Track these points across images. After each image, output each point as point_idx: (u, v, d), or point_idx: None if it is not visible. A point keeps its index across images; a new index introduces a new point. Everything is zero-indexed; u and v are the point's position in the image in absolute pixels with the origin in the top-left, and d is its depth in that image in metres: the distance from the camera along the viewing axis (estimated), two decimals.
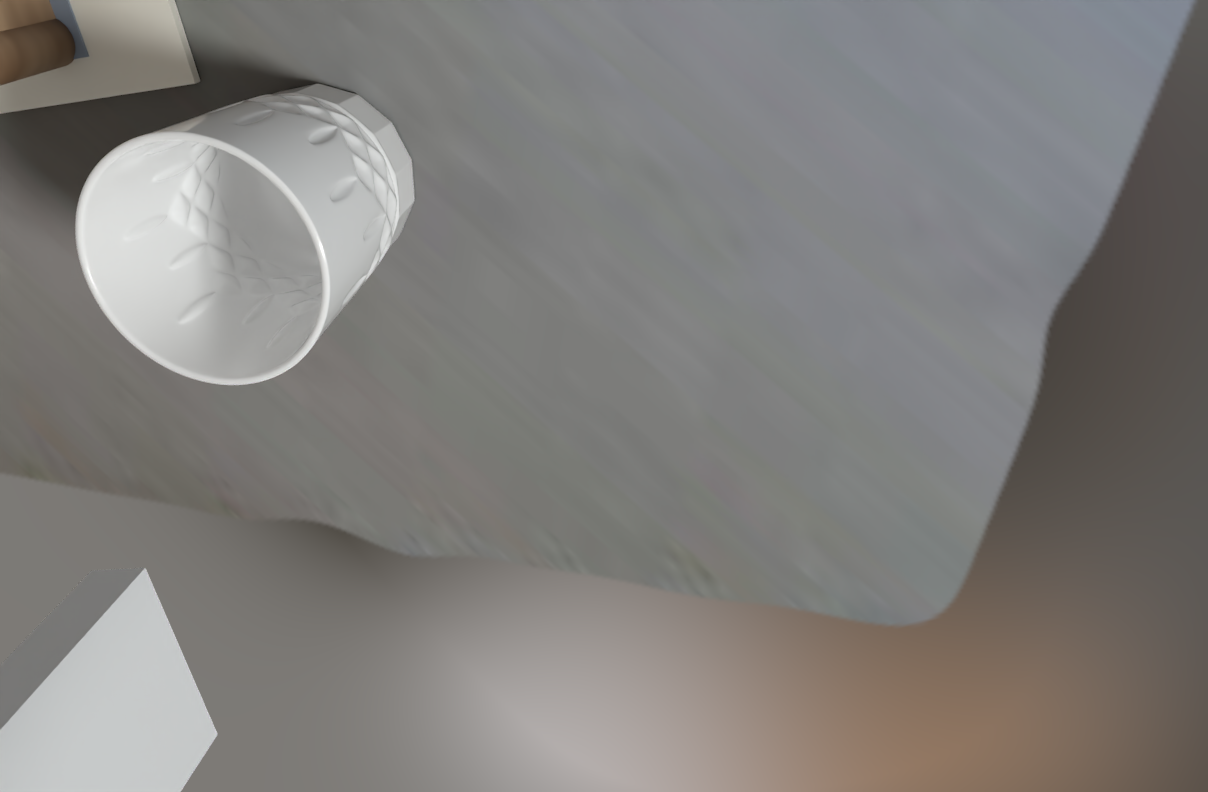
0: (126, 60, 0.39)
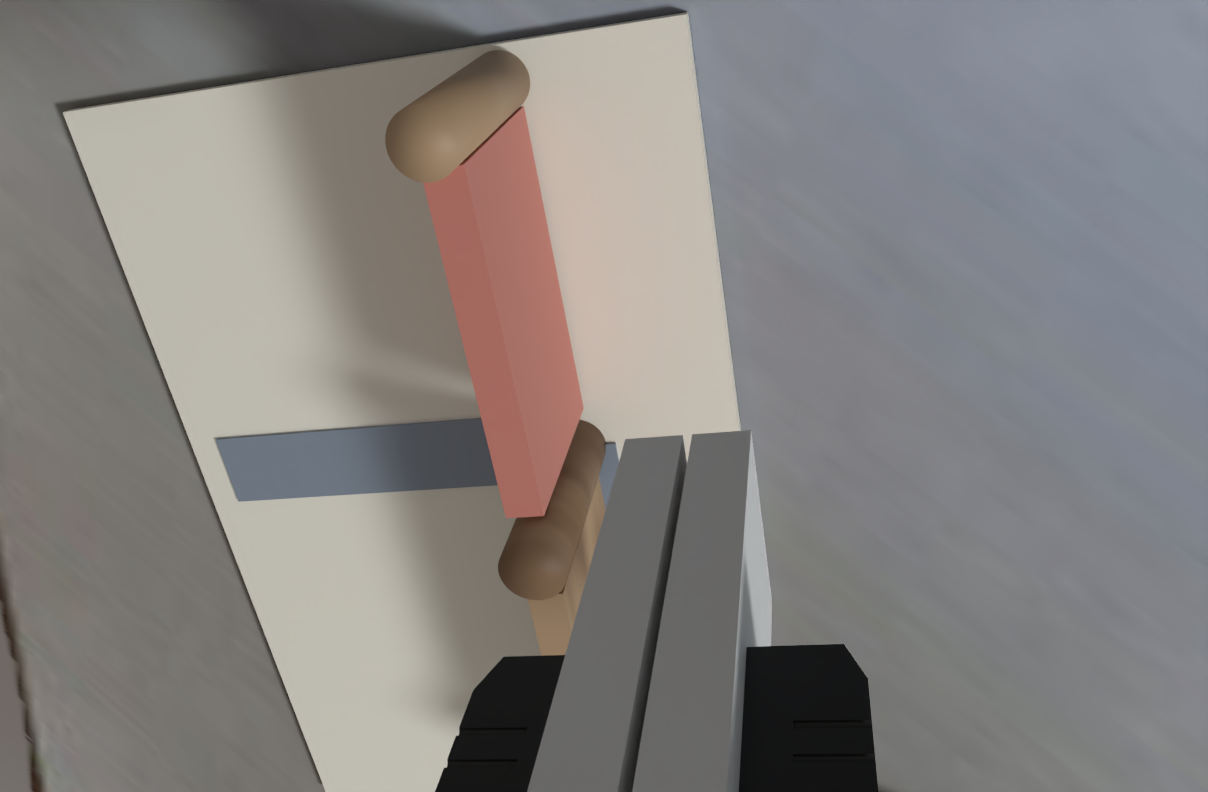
0: None
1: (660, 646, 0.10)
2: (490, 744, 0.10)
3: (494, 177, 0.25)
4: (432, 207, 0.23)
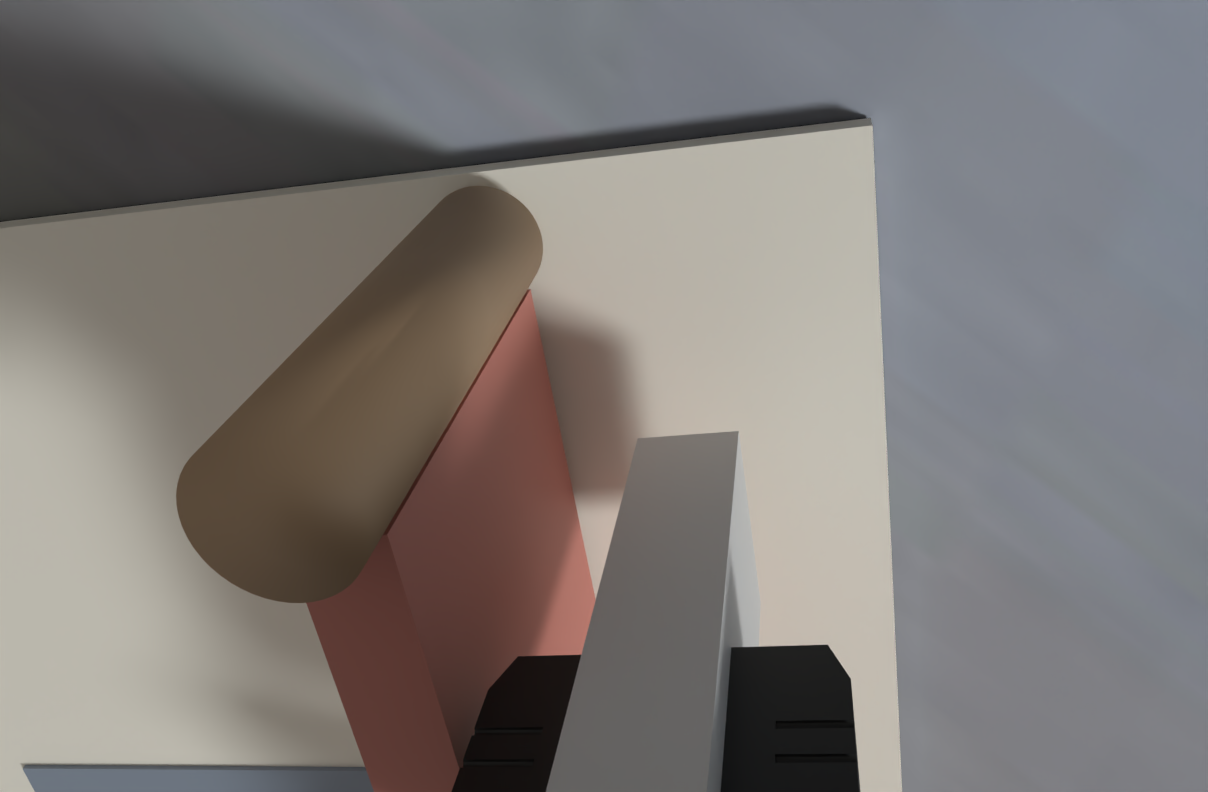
0: None
1: (677, 646, 0.10)
2: (506, 744, 0.10)
3: (470, 492, 0.11)
4: (319, 614, 0.10)
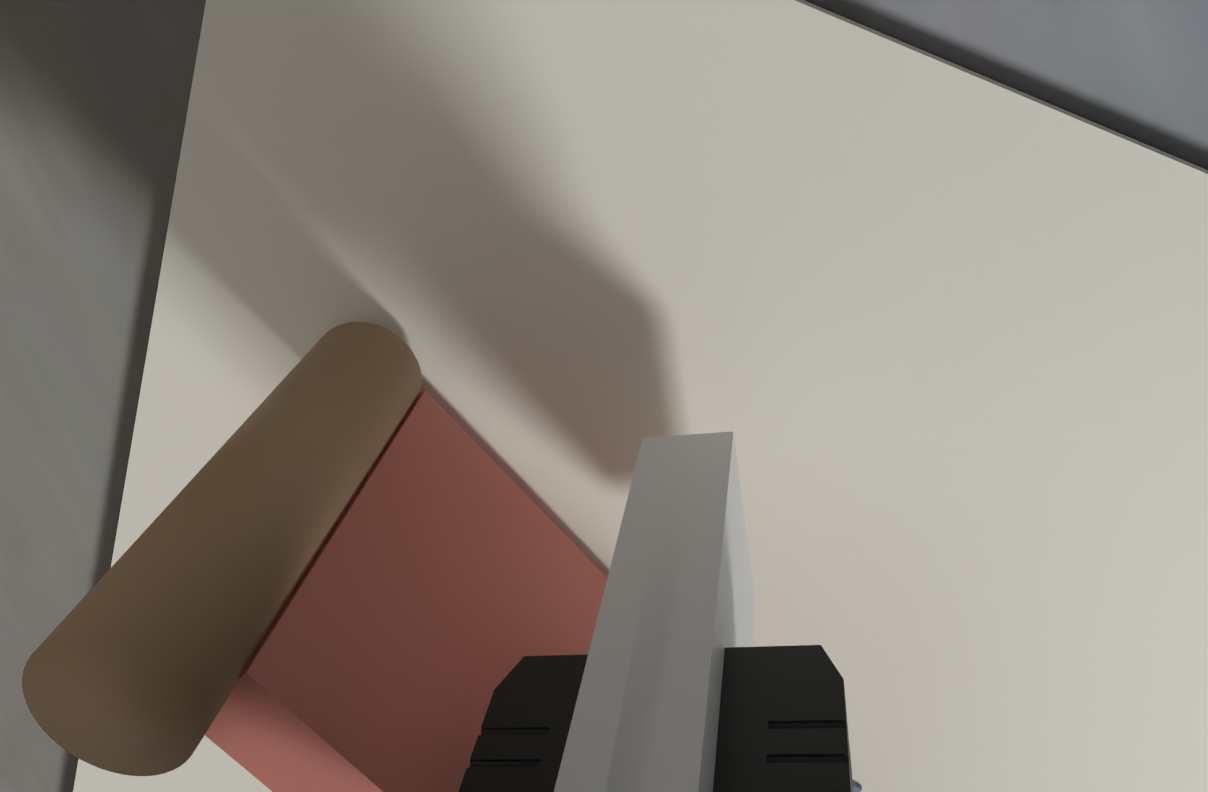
0: None
1: (684, 646, 0.10)
2: (513, 744, 0.10)
3: (379, 597, 0.12)
4: (253, 767, 0.10)
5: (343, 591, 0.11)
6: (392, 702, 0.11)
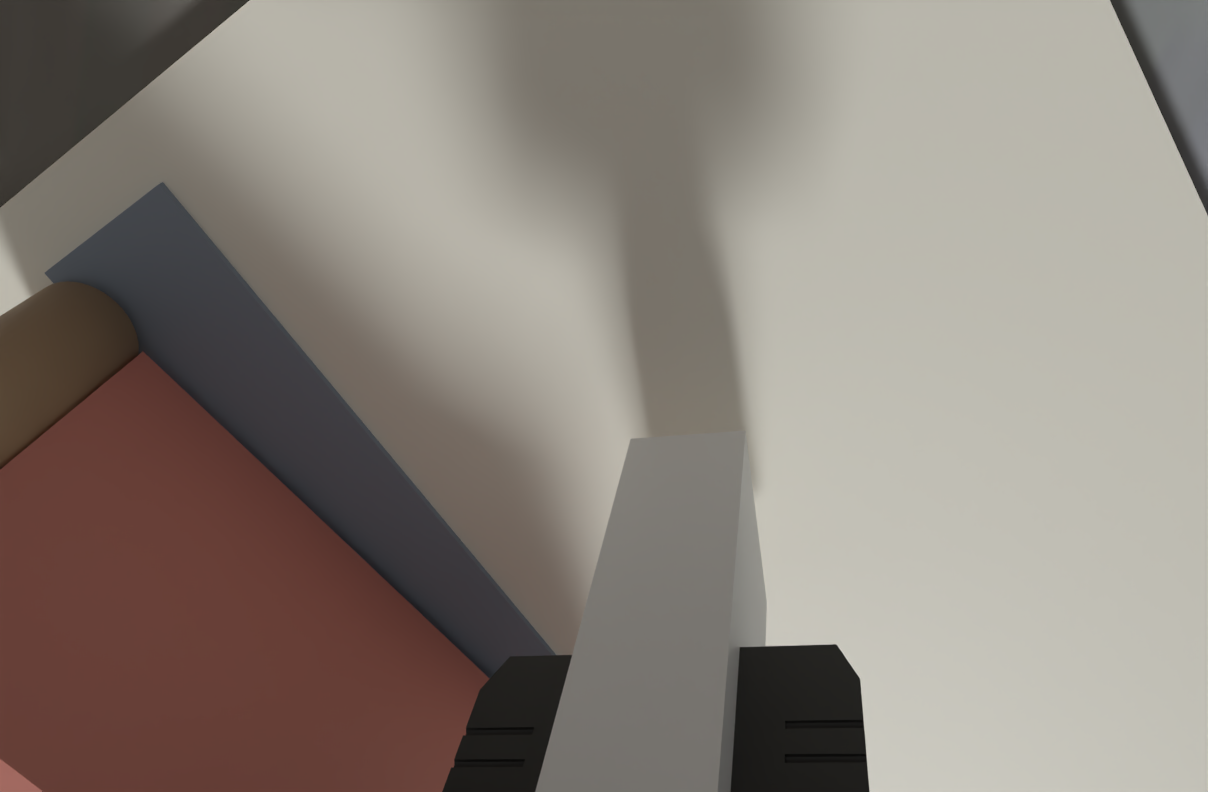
0: None
1: (667, 646, 0.10)
2: (497, 744, 0.10)
3: (24, 552, 0.12)
4: None
5: None
6: (13, 654, 0.11)
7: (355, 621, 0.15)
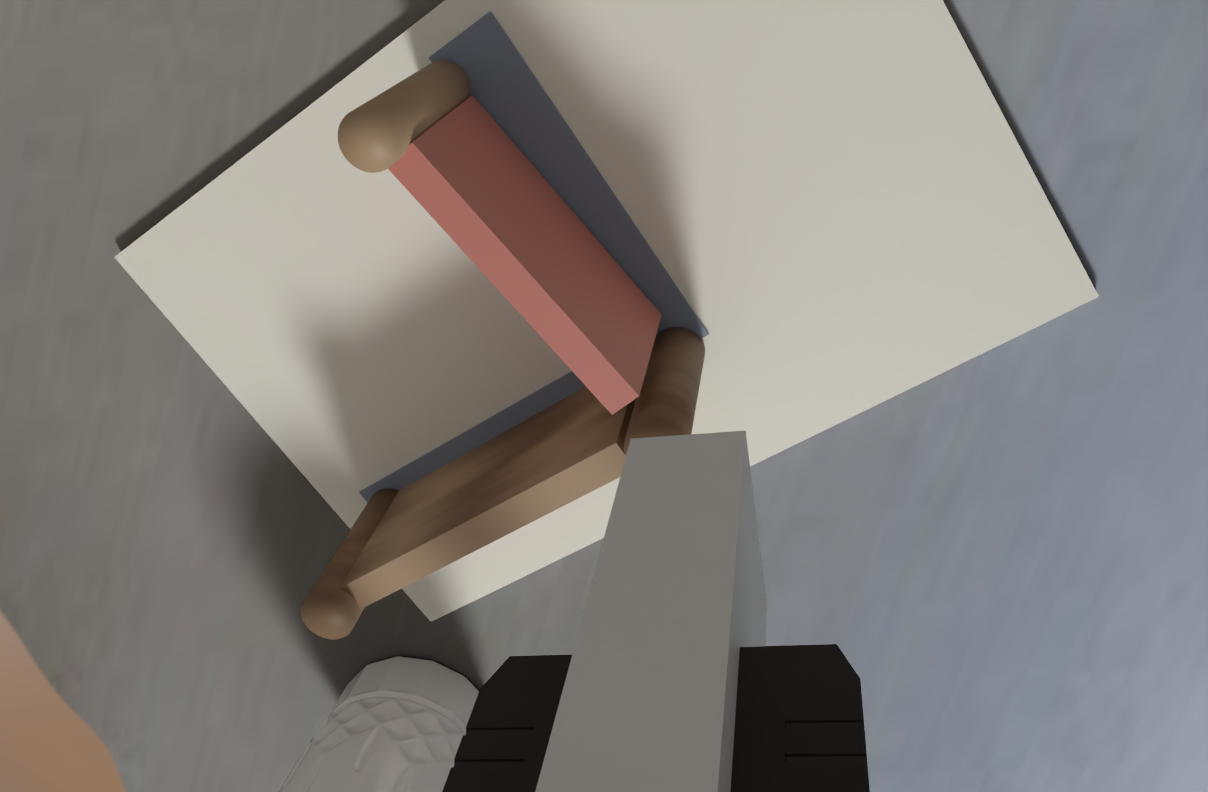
0: None
1: (667, 646, 0.10)
2: (497, 744, 0.10)
3: (456, 148, 0.29)
4: (411, 190, 0.27)
5: (442, 139, 0.28)
6: (463, 177, 0.28)
7: (568, 225, 0.32)
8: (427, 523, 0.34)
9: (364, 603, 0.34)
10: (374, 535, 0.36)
